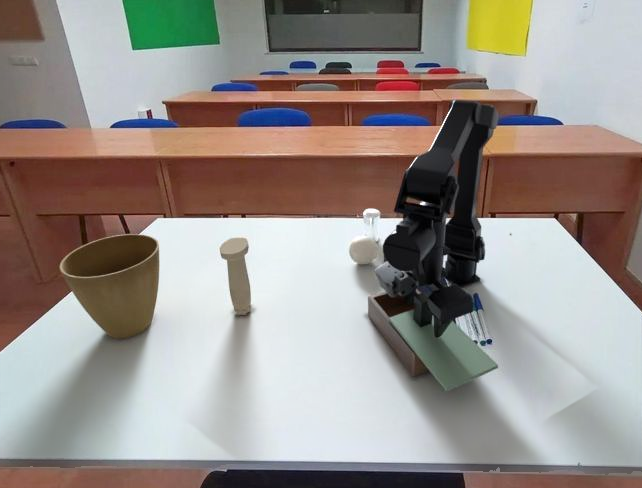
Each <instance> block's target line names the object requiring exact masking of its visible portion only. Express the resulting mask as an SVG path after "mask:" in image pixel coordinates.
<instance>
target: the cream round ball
mask: <svg viewBox="0 0 642 488" xmlns="http://www.w3.org/2000/svg"><path fill="white" fill-rule="evenodd" d="M348 253H349V257H350V259H351V260H352V261H353V262H354V263H356V264H358V265H368V264H370V263H371V262H373V261H375V260H376V259H377V258H378V257H379V246H378V244H377V242H376V243H375V241H374V240H373V239H371V238H370V237H367V236H365V235H360V236H359V235H358V236H357V237H354V239H352V241H351V242H350V244H349V247H348Z"/></svg>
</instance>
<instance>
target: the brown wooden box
mask: <svg viewBox="0 0 642 488" xmlns="http://www.w3.org/2000/svg"><path fill="white" fill-rule="evenodd" d="M421 293H422V292H421V291H420V290H419V289H418V288H417V289H416V292H415V295H418V294H421ZM411 310H414V299H413V302H412V304H411V305H410V306H406V305H405V301H404V298H403V297H402V296H401V295H399V296H397V297H390V296H389V295H388V293H387V292H386V291H385V290H384V291H382V292H378V293H376V294H372V295H369V296H367V316H368V317H369V319H370V320H371V321H372V322H373V325H375V327H376V329H377V330H378V331H379V332H380V333H381V335H382V336H383V338H384V339H385V340H386V342H387V343H388V344H389V345H390V347H391V348H392V349H393V351H394V353H396V355H397V356H398V358H399V359H400V360H401V362H402V363H403V364H404V365H405V367H406V368H407V369H408V371H409V373H411V375H412V377H416V376H418V375H421V374H423V373H426V372H428V371H430V370H429V369H428V368H427V367H426V366H425V364H424V363H423V362H422V361H421V359H420V358H419V357H418V356H417V354H416V353H415V352H414V351H413V349H412V348H411V347H410V346H409V345H408V343H407V342H406V341H405V340H404V338H403V337H402V336H401V335H400V333H399V332H398V331H397V330H396V329H395V327H394V326H393V325H392V324H391V322H390V321H389V318H390V317H393V316H396V315H399V314H402V313H405V312H408V311H411Z"/></svg>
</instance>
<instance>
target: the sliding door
mask: <svg viewBox="0 0 642 488" xmlns="http://www.w3.org/2000/svg"><path fill="white" fill-rule="evenodd" d="M429 296H430V294H428V293H427V291H424V292H421V294H418V295H414V310H411V311H408V312H405V313H402V314H399V315H396V316H393V317H390V318H389V321H390V322H391V324H392V325H393V326H394V327H395V329H396V330H397V331H398V332H399V333H400V335H401V336H402V337H403V338H404V340H405V341H406V342H407V343H408V345H409V346H410V347H411V348H412V349H413V351H414V352H415V353H416V354H417V356H418V357H419V358H420V359H421V361H422V362H423V363H424V364H425V366H426V367H427V368H428V369H429V370H428V371H429V372H430V373H431V374H432V376H433V377H434V378H435V379H436V380H437V382H438V383H439V384H440V385H441V387H442V388H443V389H444V390H445V392H449V391H451V390H453V389H456V388H458V387H460V386H463V385H464V384H466V383H468V382H471V381H473V380H476V379H478V378H480V377H482V376H483V375H486V374H488V373H490V372H493V371H495V370H497V369H499V364H498V363H497V362H496V361H495V360H494V359H493V358H492V357H491V356H490V355H489V354H487V352H486V351H485V350H483V349H482V347H480V346H479V345H478V344H477V342H475V341H474V340H473V339H472V338H471V336H469V335H468V334H467V333H466V332H464V330H463V329H461V327H460V326H458V325H457V324H456V323H455V322H454V320H453V321H452V322H451V323H450V325H449V326H448V327H447V329H446V330H445V332H444V333H443V334H442V336H440V337H438V338H436V337H435V335H434V316H433V315H432V314H431V313H430V312H429V311H428V310H427V309H428V308H429V306H428V297H429Z"/></svg>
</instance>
